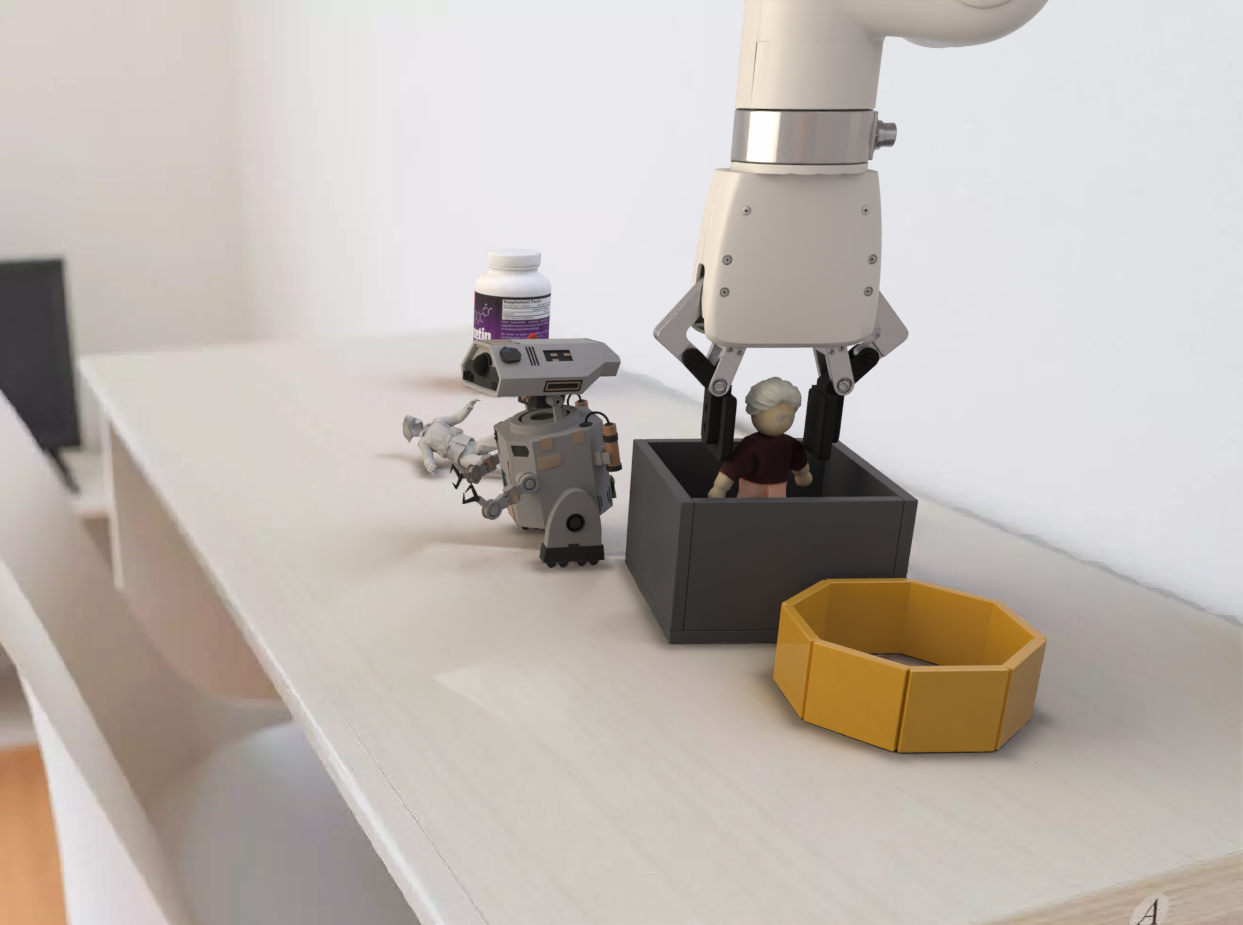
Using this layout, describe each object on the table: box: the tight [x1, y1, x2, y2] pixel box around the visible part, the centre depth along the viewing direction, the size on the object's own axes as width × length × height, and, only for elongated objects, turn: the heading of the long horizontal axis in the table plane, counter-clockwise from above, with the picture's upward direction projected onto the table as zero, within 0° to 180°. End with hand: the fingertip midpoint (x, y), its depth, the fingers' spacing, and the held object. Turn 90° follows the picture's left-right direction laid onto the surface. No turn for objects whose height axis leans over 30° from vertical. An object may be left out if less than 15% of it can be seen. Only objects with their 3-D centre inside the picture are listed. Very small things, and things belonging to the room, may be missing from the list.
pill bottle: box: [472, 248, 552, 342], centre depth 135 cm, size 8×8×14 cm
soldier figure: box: [402, 397, 502, 476], centre depth 109 cm, size 8×5×12 cm
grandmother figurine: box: [708, 376, 812, 498], centre depth 79 cm, size 8×4×13 cm, turn 127°
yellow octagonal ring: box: [772, 577, 1048, 754], centre depth 68 cm, size 12×12×4 cm
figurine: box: [449, 333, 623, 569], centre depth 88 cm, size 9×12×15 cm
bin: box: [624, 437, 919, 645], centre depth 80 cm, size 14×14×9 cm
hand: (767, 451), depth 78 cm, fingers closed on grandmother figurine, 5 cm apart
